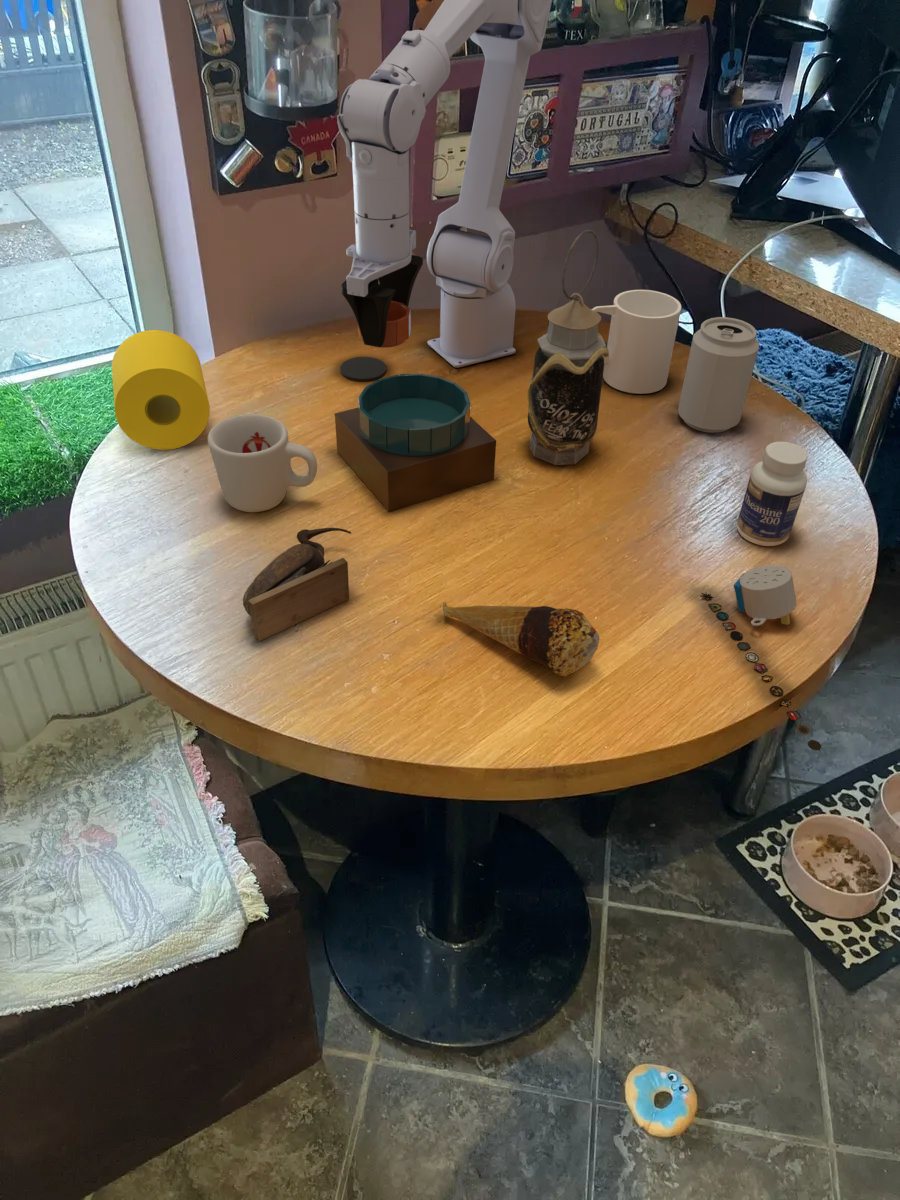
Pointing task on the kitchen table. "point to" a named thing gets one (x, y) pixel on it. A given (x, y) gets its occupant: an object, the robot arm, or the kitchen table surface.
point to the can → (718, 374)
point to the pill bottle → (773, 495)
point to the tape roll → (159, 390)
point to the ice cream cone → (535, 633)
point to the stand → (415, 464)
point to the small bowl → (396, 325)
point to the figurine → (296, 586)
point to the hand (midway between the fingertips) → (384, 332)
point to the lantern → (567, 380)
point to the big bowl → (414, 414)
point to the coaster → (363, 369)
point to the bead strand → (761, 670)
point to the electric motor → (766, 594)
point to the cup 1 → (256, 461)
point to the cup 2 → (640, 340)
